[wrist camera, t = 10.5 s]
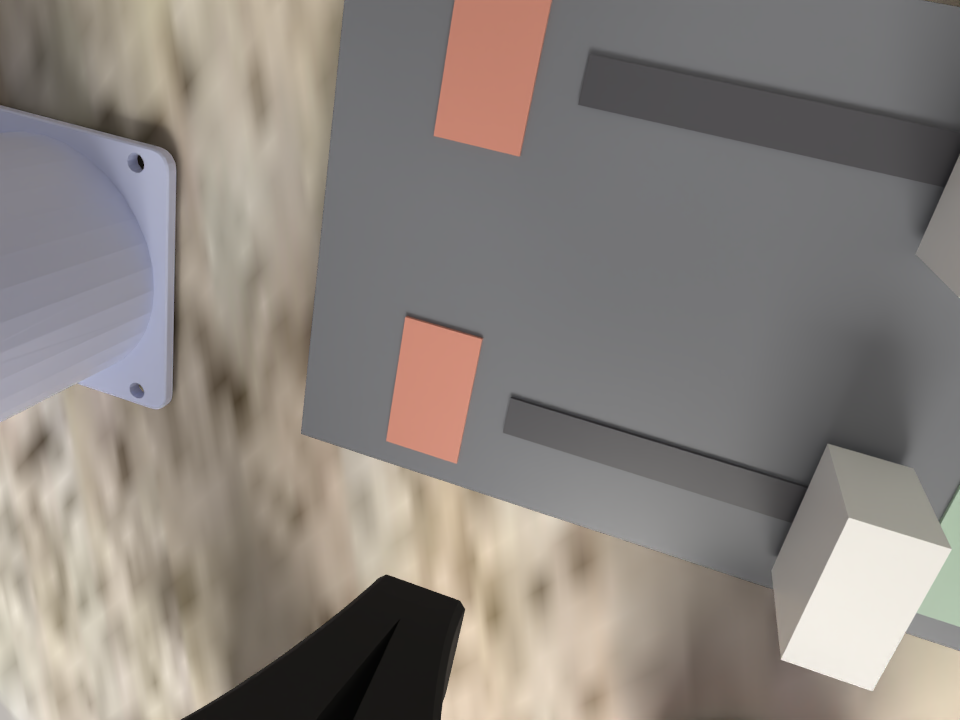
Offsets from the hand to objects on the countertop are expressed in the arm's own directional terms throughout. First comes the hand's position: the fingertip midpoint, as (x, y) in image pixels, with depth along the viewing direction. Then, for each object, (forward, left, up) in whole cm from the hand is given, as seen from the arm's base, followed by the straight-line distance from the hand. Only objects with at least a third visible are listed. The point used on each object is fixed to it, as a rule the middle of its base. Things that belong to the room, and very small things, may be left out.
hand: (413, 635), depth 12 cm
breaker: (+7, 0, -8) cm, 11 cm away
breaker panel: (+4, +4, -9) cm, 11 cm away
